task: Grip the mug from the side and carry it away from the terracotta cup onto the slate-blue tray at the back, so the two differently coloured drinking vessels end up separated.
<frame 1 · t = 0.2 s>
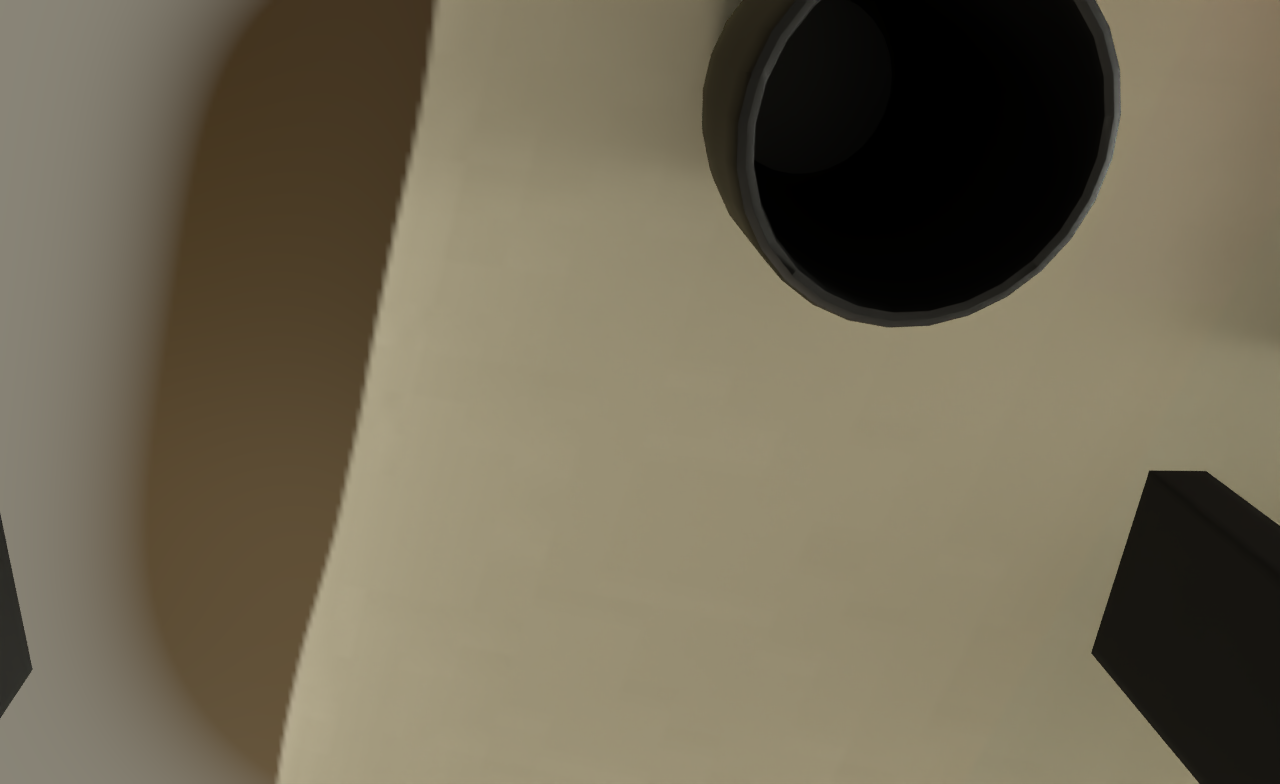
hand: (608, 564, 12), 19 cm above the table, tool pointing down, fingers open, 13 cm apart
mug: (851, 35, 29), on the table
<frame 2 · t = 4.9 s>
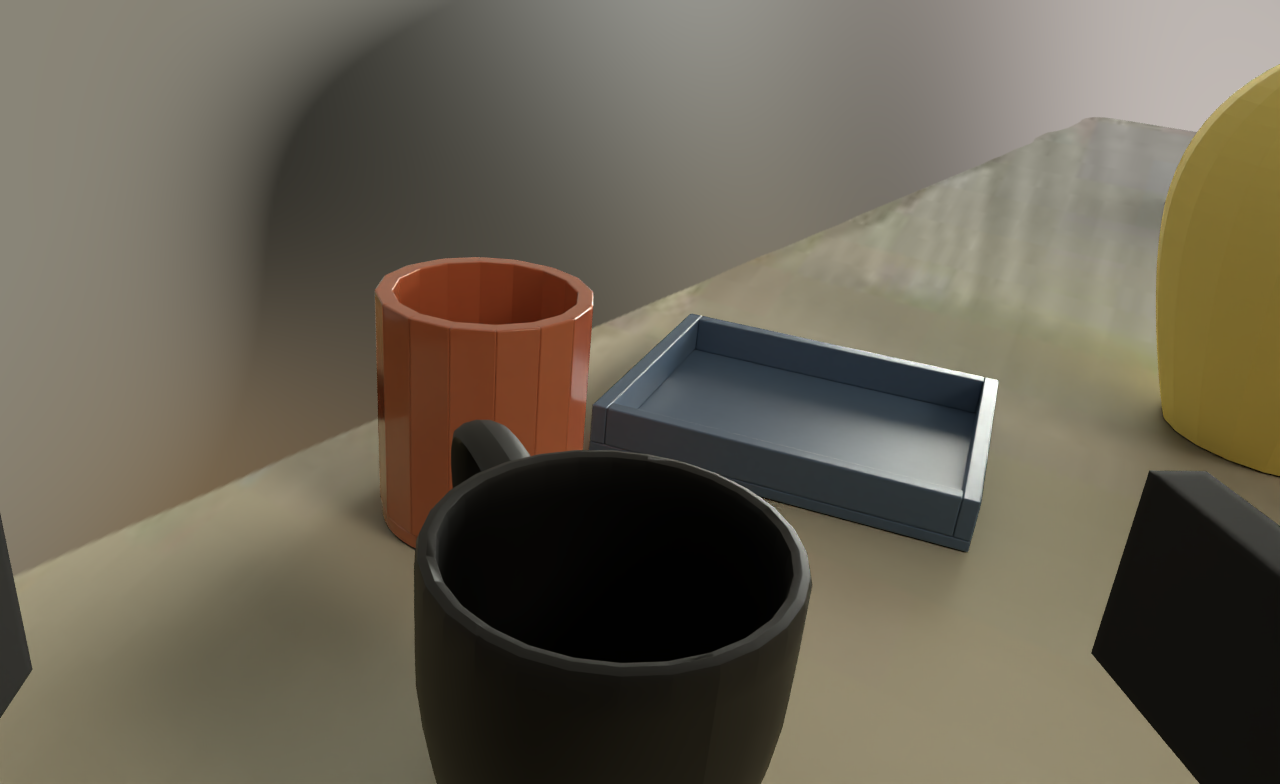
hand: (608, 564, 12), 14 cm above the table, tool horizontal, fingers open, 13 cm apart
terracotta cup: (481, 506, 39), on the table
vase: (1265, 439, 52), on the table
tray: (802, 434, 47), on the table
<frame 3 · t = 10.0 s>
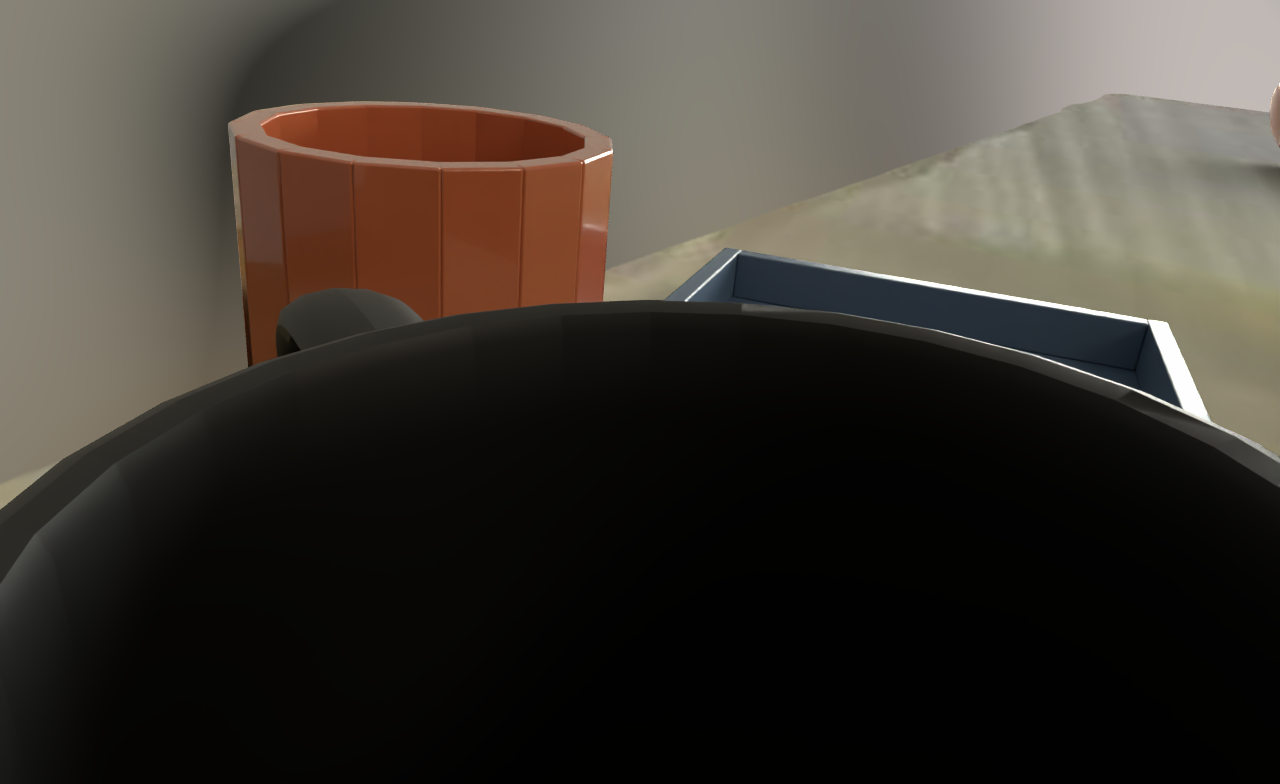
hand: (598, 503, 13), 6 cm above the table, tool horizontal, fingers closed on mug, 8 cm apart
terracotta cup: (430, 507, 24), on the table
tray: (903, 400, 33), on the table
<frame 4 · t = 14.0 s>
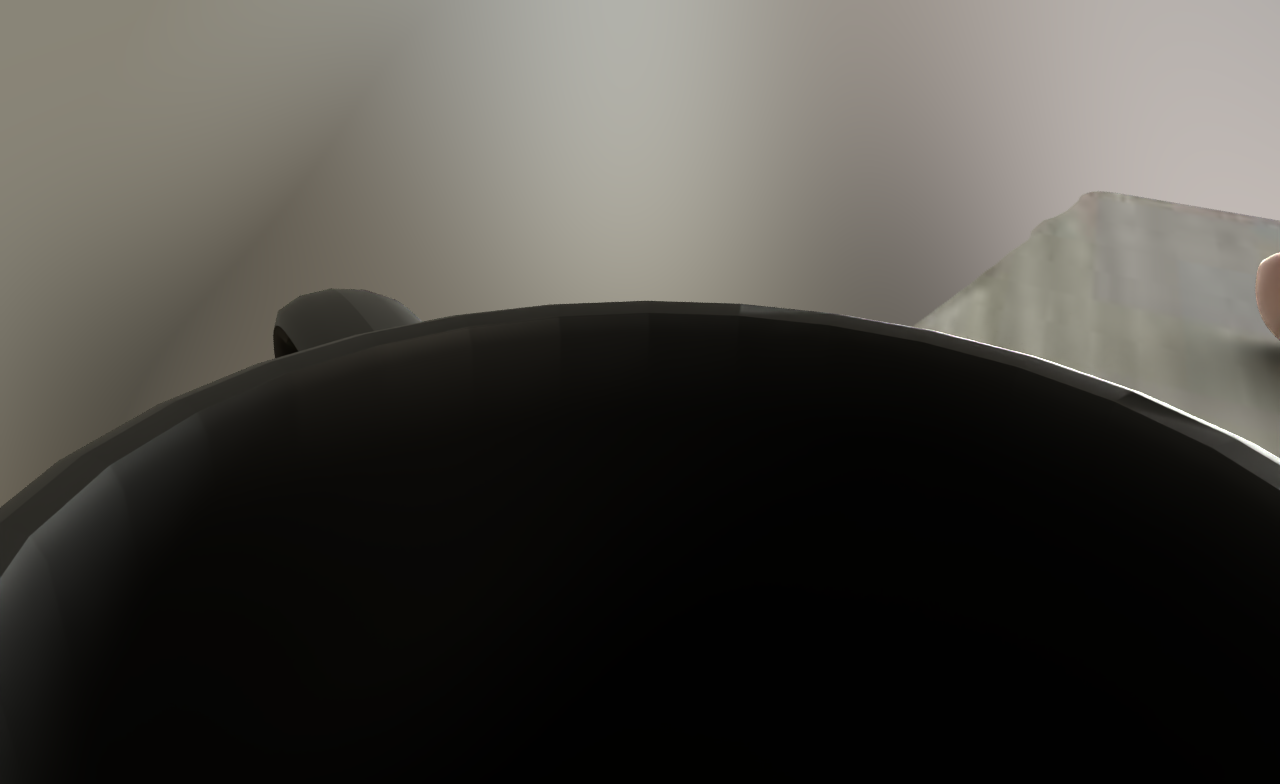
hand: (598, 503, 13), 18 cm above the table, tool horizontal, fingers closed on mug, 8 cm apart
when the fingers open (7 cm above the table, at t = 18.5 s): mug stays where it is, resting on tray.
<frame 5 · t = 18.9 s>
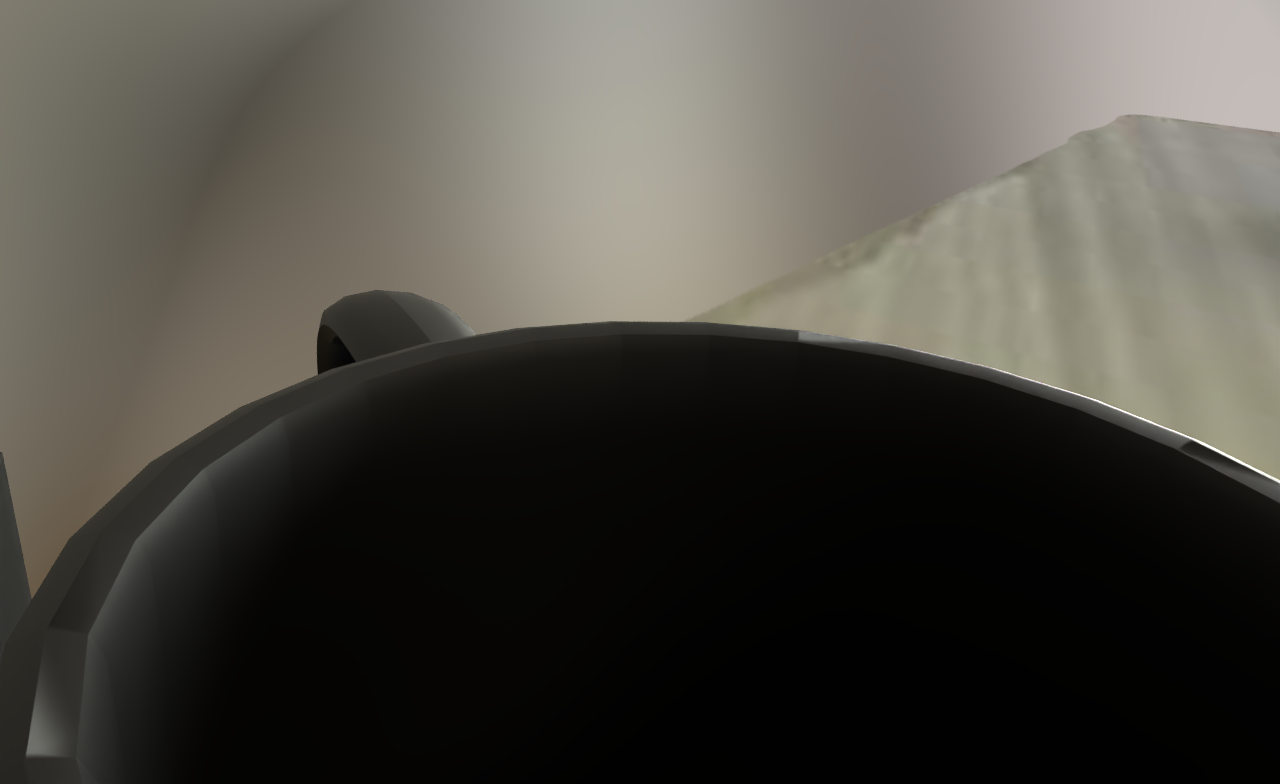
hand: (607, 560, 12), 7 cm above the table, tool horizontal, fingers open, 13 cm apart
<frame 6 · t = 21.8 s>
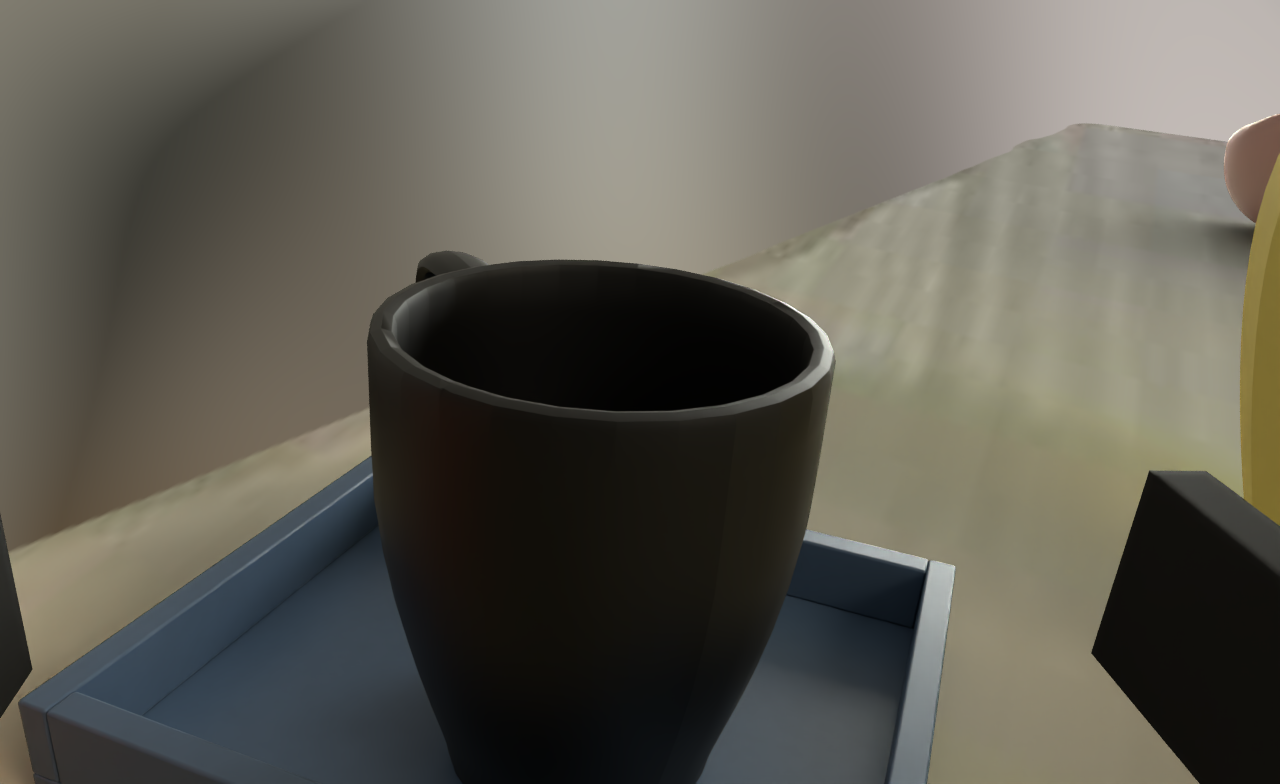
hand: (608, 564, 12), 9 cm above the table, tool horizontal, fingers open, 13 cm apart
mug: (541, 690, 23), resting on tray
tray: (555, 703, 23), on the table
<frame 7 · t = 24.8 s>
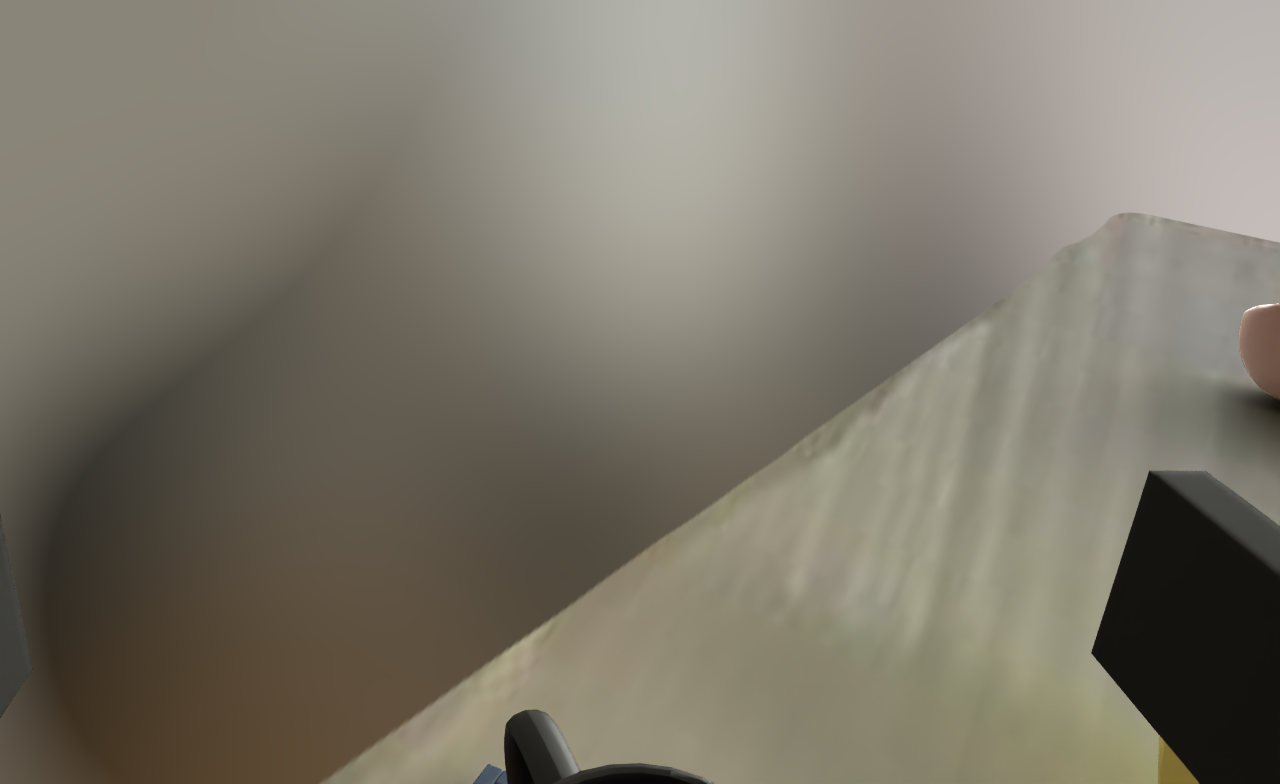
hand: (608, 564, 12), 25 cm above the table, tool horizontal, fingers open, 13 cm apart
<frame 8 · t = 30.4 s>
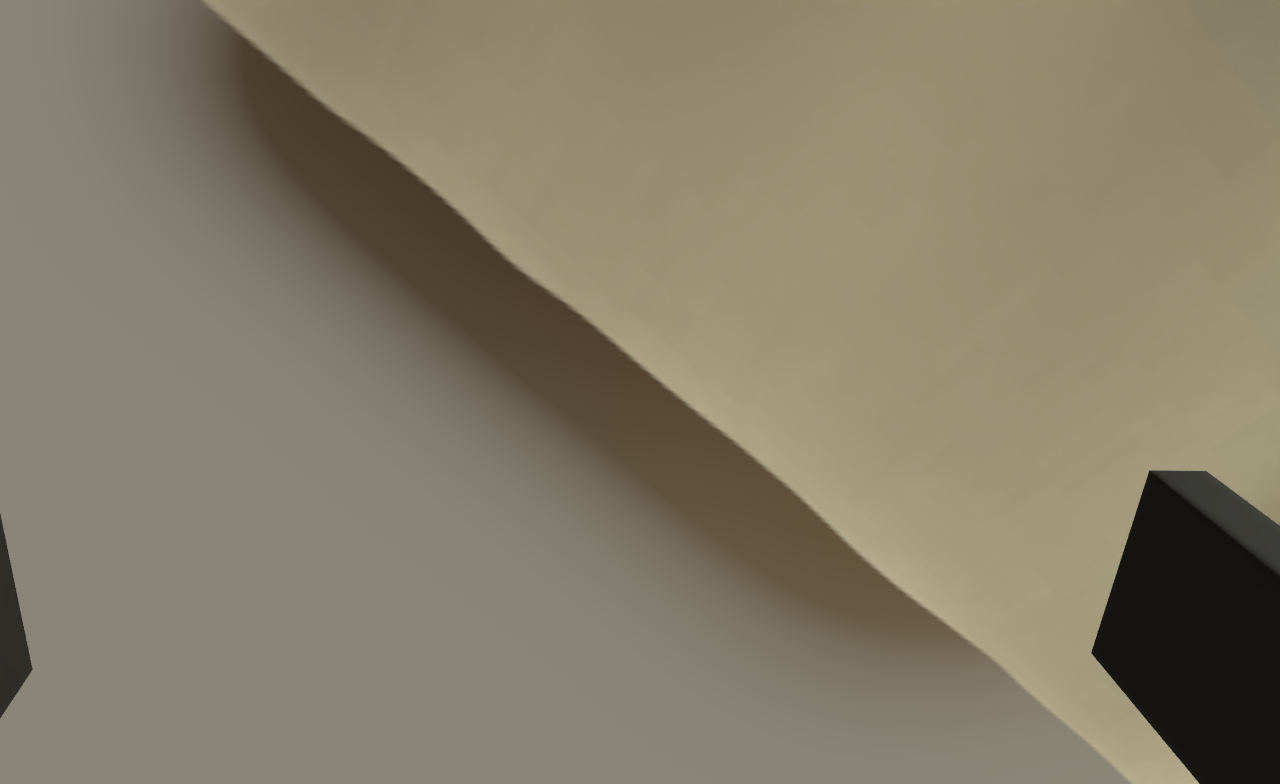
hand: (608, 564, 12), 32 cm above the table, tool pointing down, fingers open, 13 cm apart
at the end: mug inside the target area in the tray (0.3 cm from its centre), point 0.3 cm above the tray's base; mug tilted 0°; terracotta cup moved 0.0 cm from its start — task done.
